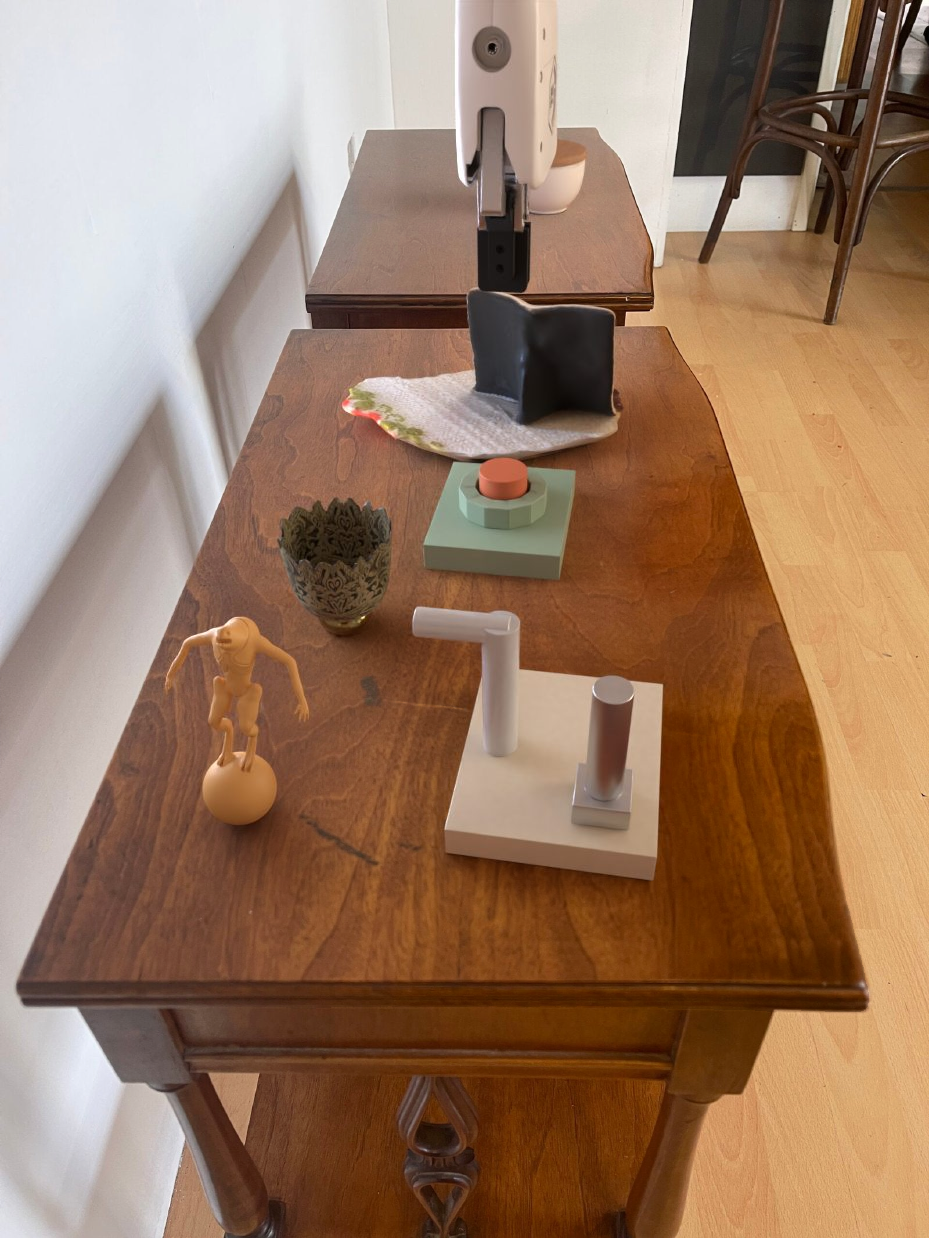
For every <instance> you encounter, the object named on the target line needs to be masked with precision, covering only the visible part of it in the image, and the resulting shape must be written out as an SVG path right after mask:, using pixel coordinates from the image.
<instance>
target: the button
mask: <svg viewBox="0 0 929 1238" xmlns="http://www.w3.org/2000/svg"><path fill="white" fill-rule="evenodd" d="M481 464H482V465H481V466H480V469H479V490H480V493H481V494H482V496H485V497H487V498H489V499H492V500H502V501H508V500H512V499H517V498H521V497H522V496H524V495H525V494H526V492H527V467H528V466H527V465H526V464H525V463H524V462H522V460H520V461H518V460H516V459H512V458H495V459H491V460H488V461H486V462H482V463H481Z"/></svg>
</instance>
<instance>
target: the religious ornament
mask: <svg viewBox="0 0 929 1238" xmlns="http://www.w3.org/2000/svg"><path fill="white" fill-rule="evenodd" d="M466 309H467V322H468V323H467V324H468V334H469V341H470V347H471V352H472V363H473V368H474V369H467V370H464V371H463V370H460V371H458V372H447V373H442V374H438V375H436V376H428V375H427V376H425V377H413V378H402V377H401V376H399V375H396V376H379V377H372V378H370V377H368V378H365V379H364V380H363V381H360V382H358V384H356V385H355V386H353V387H351V388H349V389H348V391H349V395H348V397H346V399H345V400H344V401H342V404H341V405H342V406H341V407H342V409H343V410H344V411H345V412H346V413H348V414H350V415H352V416H356V417H360V418H366V419H371V420H374V421H375V423H376V424H377V425H378V426H379V427H380V428H381V429H383V431H385V432H386V433H387V434H388V435H389V436H391V437H393V439H394V440H400V441H403V442H405V443H408V444H409V445H411V446H414V447H416V448H419V449H421V450H424V451H427V452H431V453H434V454H437V455H441V456H444V457H448V458H450V459H453V460H456V461H457V462H465V463H485V462H486V461H488V460H491V459H495V458H512V459H516V460H518V461H524V460H530V459H533V458H538V457H543V456H548V455H552V454H557V453H560V452H564V451H569V450H572V449H575V448H579V447H582V446H586V445H590V444H593V443H597V442H600V441H602V440H604V439H606V438H609V437H610V436H612V435H613V434H615V433H616V432H618V430H619V429H618V427H619V425H618V423H619V419H620V418H621V415H622V412H623V410H624V403H623V402H622V401H621V397H620V391H619V390H618V389H616V388H615V380H614V379H615V341H616V340H615V336H616V319H617V318H616V314H615V312H614V311H613V310H611V309H609V308H605V307H600V306H594V305H590V304H574V303H572V304H570V303H569V304H554V305H534V304H530V303H528V302H526V301H525V300H523V299H522V298H520V297H517V296H514V295H512V294H510V293H508V292H486V291H481V290H480V289H479V288H478V287H472V288H470V289H469V290H468V291H467V294H466Z"/></svg>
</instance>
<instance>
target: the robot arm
mask: <svg viewBox="0 0 929 1238" xmlns="http://www.w3.org/2000/svg"><path fill="white" fill-rule="evenodd" d="M454 2H455V3H454V5H455V7H454V8H455V9H454V10H455V12H454V14H455V15H454V32H453V37H454V105H455V107H454V108H455V141H456V142H455V144H456V160H457V172H458V178H459V180H460V181H461V182H462V184H463V185H464V186H466V187H467V188H469V189H470V188H473V186H474V184H475V183H476V197H477V198H476V200H477V228H476V236H477V237H476V244H477V245H476V246H477V251H476V253H477V256H476V257H477V288H479V289H480V290H481V291H486V292H502V293H507V294H510V293H512V294H524V293H525V292H526V291H527V289H528V286H529V284H530V280H531V246H532V245H531V242H532V221H529V217H530V216H529V215H530V212H529V203H530V189H531V190H536V189H537V188H539V187H540V186H541V185H542V184H543V182H544V181H545V179H546V177H547V175H548V172H549V170H550V167H551V165H552V162H553V160H554V157H555V154H556V149H557V140H558V69H559V68H558V65H559V64H558V59H559V23H558V21H559V19H558V17H559V16H558V15H559V14H558V0H455V1H454Z"/></svg>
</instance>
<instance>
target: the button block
mask: <svg viewBox="0 0 929 1238" xmlns="http://www.w3.org/2000/svg"><path fill="white" fill-rule="evenodd" d="M482 464H483V463H480V462H460V461H453V463H452V465H451V468H450V471H449V473H448V476H447V478H446V482H445V484H444V487H443V488H442V489H443V490H442V492H441V495H440V498H439V499H438V503H437V506H436V508H435V511H434V514H433V516H432V518H431V519H432V520H431V522H430V524H429V527H428V530H427V533H426V536H425V538H424V541H423V544H422V549H423V551H422V552H423V568H424V569H429V570H439V571H451V572H460V573H472V574H484V575H495V576H505V577H515V578H517V577H518V578H528V579H538V580H539V579H540V580H549V581H560V577H561V571H562V566H563V560H564V555H565V549H566V545H567V539H568V531H569V525H570V521H571V516H572V509H573V503H574V498H575V491H576V490H575V489H576V472H577V471H576V470H573V469H560V468H559V469H558V468H546V467H532V466H526V467H527V492H526V494H525V495H524V496H522V497H521V498H517V499H512V500H508V501H502V500H492V499H489V498H487V497H485V496H482V494H481V493H480V490H479V469H480V466H481V465H482Z"/></svg>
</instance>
